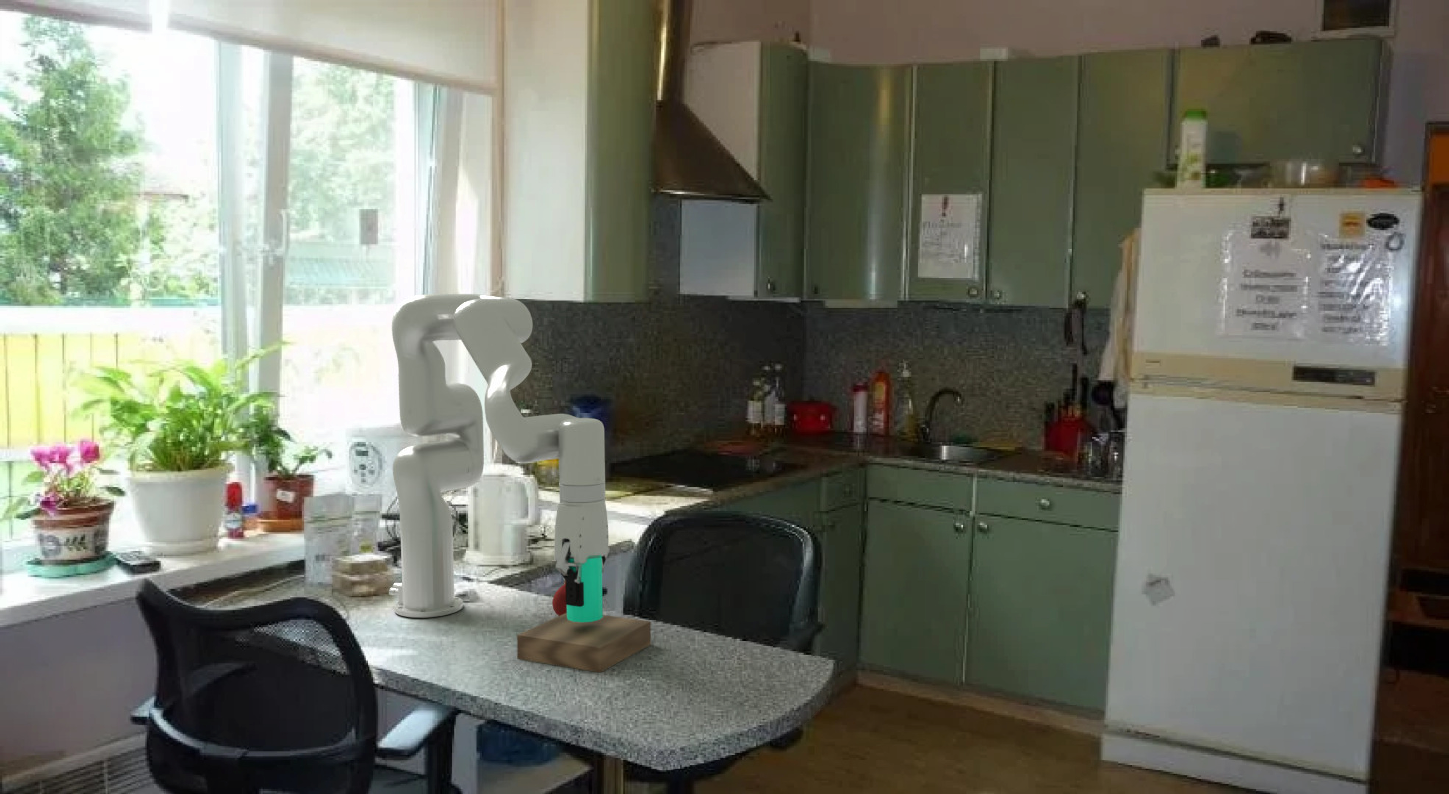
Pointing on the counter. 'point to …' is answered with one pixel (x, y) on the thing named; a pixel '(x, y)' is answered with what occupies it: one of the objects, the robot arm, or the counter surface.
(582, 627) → the walnut base
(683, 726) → the counter surface
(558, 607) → the onion
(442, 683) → the counter surface
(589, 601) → the candle
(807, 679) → the counter surface
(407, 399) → the robot arm
